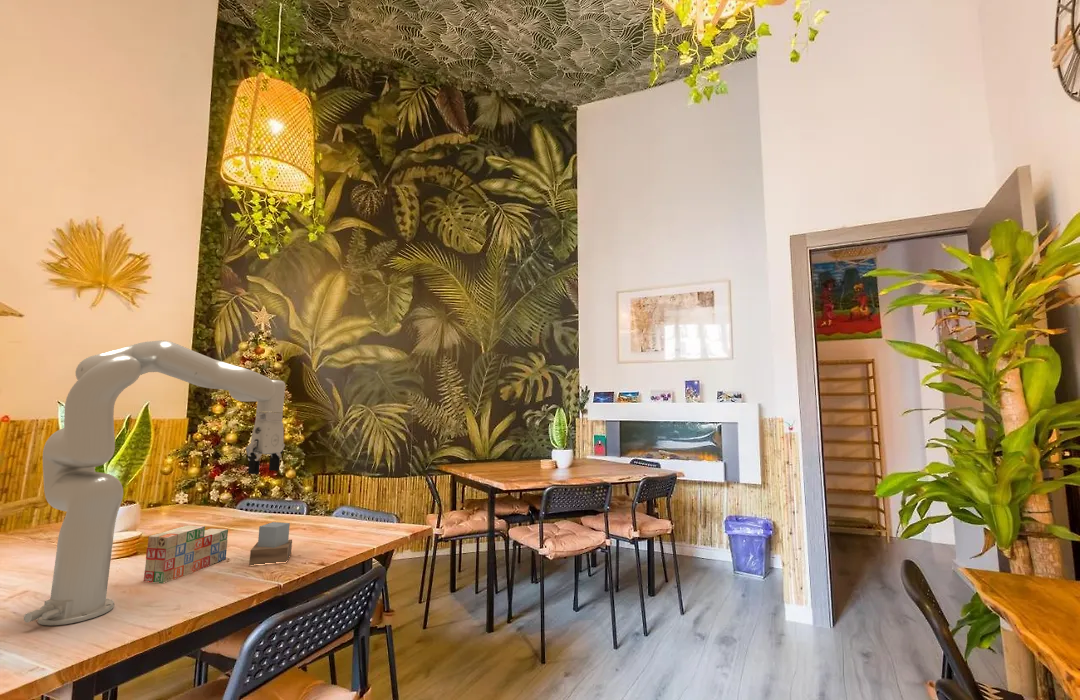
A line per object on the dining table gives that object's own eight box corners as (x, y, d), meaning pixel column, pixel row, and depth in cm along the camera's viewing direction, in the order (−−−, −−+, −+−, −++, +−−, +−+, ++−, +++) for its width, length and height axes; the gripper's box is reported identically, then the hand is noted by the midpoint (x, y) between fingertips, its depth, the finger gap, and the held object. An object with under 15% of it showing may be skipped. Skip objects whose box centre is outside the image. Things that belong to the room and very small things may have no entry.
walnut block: (286, 564, 147) (287, 547, 147) (249, 567, 143) (250, 550, 144) (291, 555, 156) (292, 539, 157) (256, 558, 153) (257, 541, 153)
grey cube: (274, 547, 147) (276, 527, 148) (257, 546, 148) (259, 526, 149) (288, 542, 153) (289, 523, 154) (271, 541, 154) (273, 522, 155)
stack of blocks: (208, 558, 151) (212, 518, 152) (226, 559, 150) (229, 519, 151) (142, 582, 130) (147, 535, 131) (162, 584, 129) (167, 536, 130)
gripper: (262, 418, 146) (256, 475, 143) (296, 418, 163) (291, 469, 160) (239, 417, 146) (233, 475, 144) (275, 417, 164) (270, 468, 161)
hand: (263, 472), depth 152 cm, fingers open, 9 cm apart
